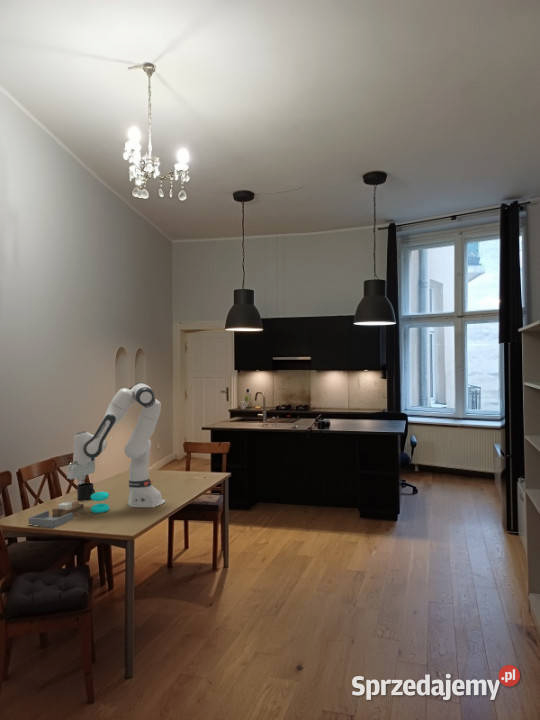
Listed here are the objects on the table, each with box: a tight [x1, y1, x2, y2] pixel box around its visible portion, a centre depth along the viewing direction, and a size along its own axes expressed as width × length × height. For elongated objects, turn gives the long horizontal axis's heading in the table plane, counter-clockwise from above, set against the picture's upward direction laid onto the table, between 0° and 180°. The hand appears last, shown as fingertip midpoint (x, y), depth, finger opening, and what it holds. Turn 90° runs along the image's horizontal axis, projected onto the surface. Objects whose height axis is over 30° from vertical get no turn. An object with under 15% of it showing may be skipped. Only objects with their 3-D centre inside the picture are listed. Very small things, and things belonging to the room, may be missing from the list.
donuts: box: [90, 491, 110, 514], centre depth 297 cm, size 10×10×10 cm
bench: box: [52, 503, 85, 518], centre depth 289 cm, size 11×12×5 cm
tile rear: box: [65, 499, 80, 506], centre depth 292 cm, size 5×5×2 cm
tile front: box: [57, 501, 72, 509], centre depth 287 cm, size 5×5×2 cm
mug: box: [76, 482, 96, 501], centre depth 324 cm, size 9×12×9 cm
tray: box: [28, 510, 74, 529], centre depth 277 cm, size 17×14×4 cm
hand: (81, 483), depth 300 cm, fingers closed
